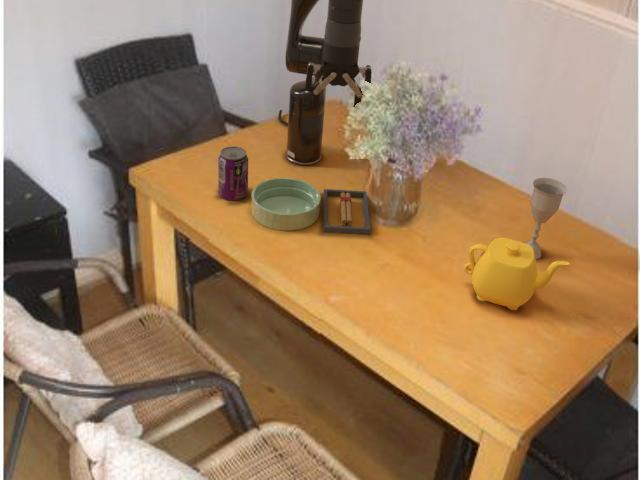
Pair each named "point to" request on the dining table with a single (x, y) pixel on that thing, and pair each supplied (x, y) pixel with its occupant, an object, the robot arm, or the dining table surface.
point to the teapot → (507, 272)
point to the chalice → (544, 206)
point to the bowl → (285, 204)
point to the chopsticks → (345, 209)
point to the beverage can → (233, 173)
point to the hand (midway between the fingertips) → (335, 109)
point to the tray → (345, 228)
